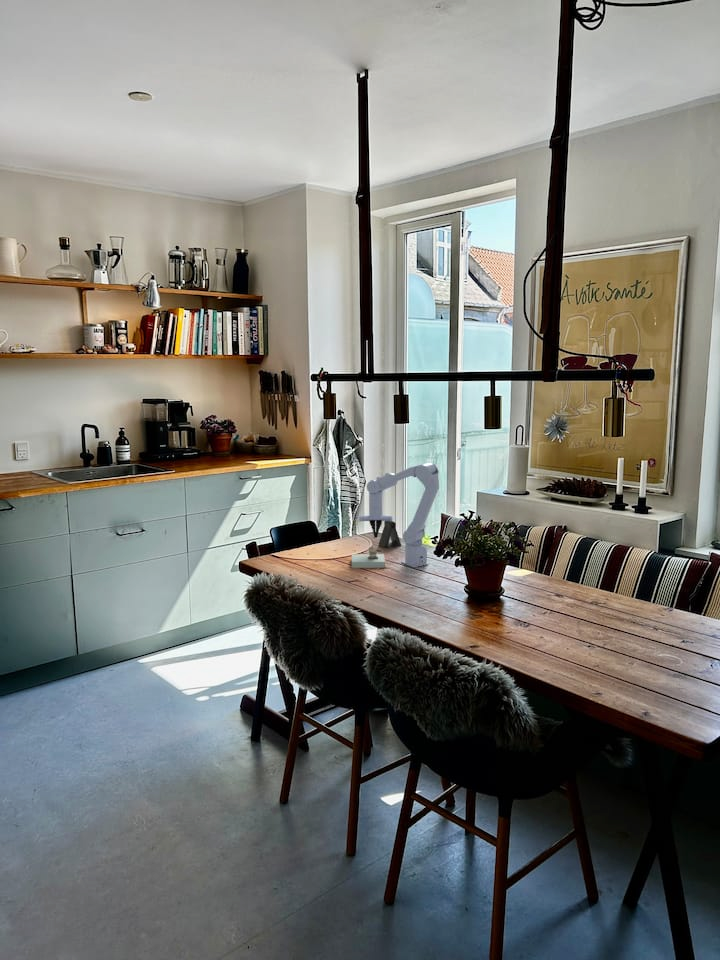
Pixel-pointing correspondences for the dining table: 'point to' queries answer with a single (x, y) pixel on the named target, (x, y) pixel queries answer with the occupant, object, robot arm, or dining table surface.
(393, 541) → the phone stand
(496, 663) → the dining table surface
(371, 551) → the peg
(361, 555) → the hole board
